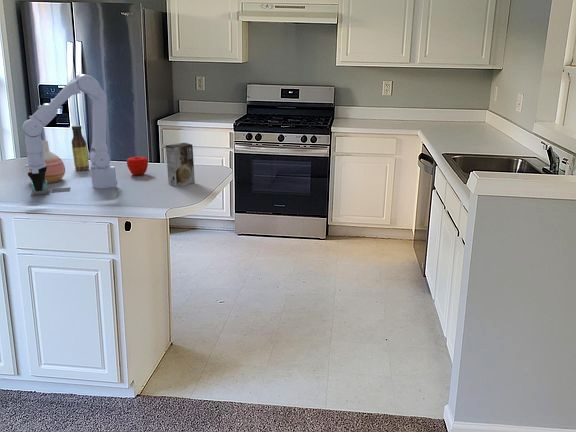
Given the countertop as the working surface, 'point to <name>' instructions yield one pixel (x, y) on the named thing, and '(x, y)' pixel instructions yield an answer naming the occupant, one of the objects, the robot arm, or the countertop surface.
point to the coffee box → (180, 164)
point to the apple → (137, 165)
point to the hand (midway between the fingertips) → (40, 188)
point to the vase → (52, 165)
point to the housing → (44, 189)
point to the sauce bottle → (79, 149)
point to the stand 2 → (61, 190)
